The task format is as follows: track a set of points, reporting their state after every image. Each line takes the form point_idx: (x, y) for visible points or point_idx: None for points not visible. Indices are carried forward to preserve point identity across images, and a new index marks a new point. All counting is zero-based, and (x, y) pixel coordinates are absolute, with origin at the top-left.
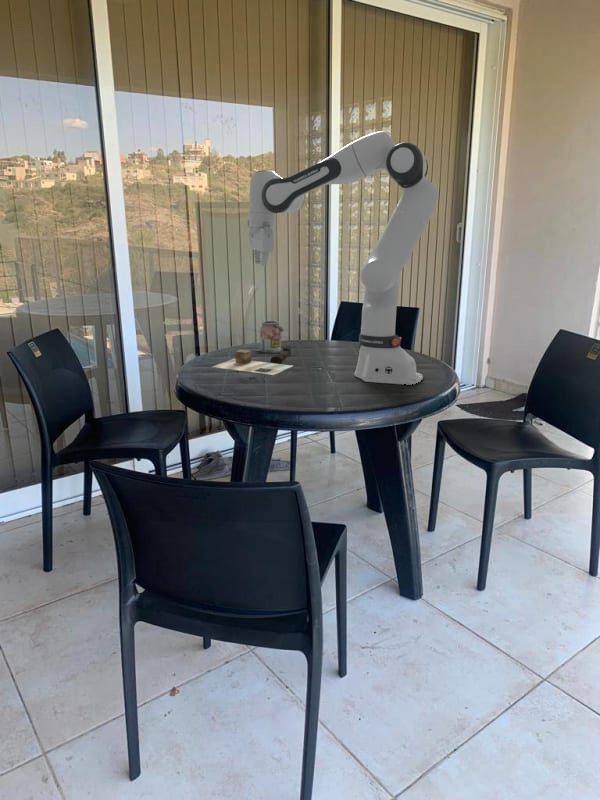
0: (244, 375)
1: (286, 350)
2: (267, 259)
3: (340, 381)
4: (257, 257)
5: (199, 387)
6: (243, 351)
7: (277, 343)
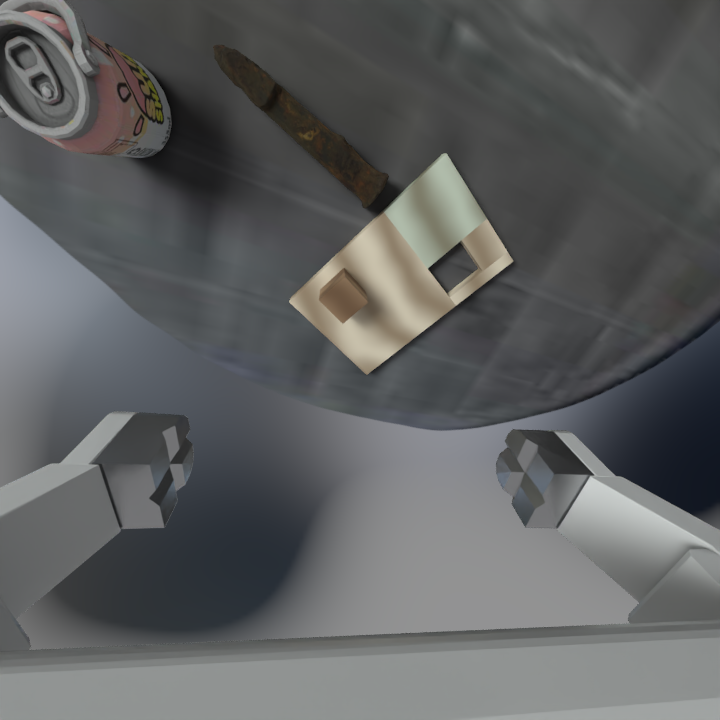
0: None
1: (275, 95)
2: (641, 488)
3: (646, 62)
4: (95, 514)
5: (481, 412)
6: (349, 302)
7: (145, 81)
